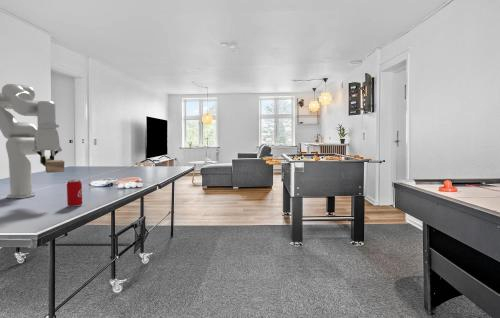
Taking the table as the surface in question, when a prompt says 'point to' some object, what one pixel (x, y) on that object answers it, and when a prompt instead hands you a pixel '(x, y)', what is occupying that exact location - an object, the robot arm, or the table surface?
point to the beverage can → (74, 193)
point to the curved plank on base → (53, 165)
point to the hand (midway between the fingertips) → (47, 164)
